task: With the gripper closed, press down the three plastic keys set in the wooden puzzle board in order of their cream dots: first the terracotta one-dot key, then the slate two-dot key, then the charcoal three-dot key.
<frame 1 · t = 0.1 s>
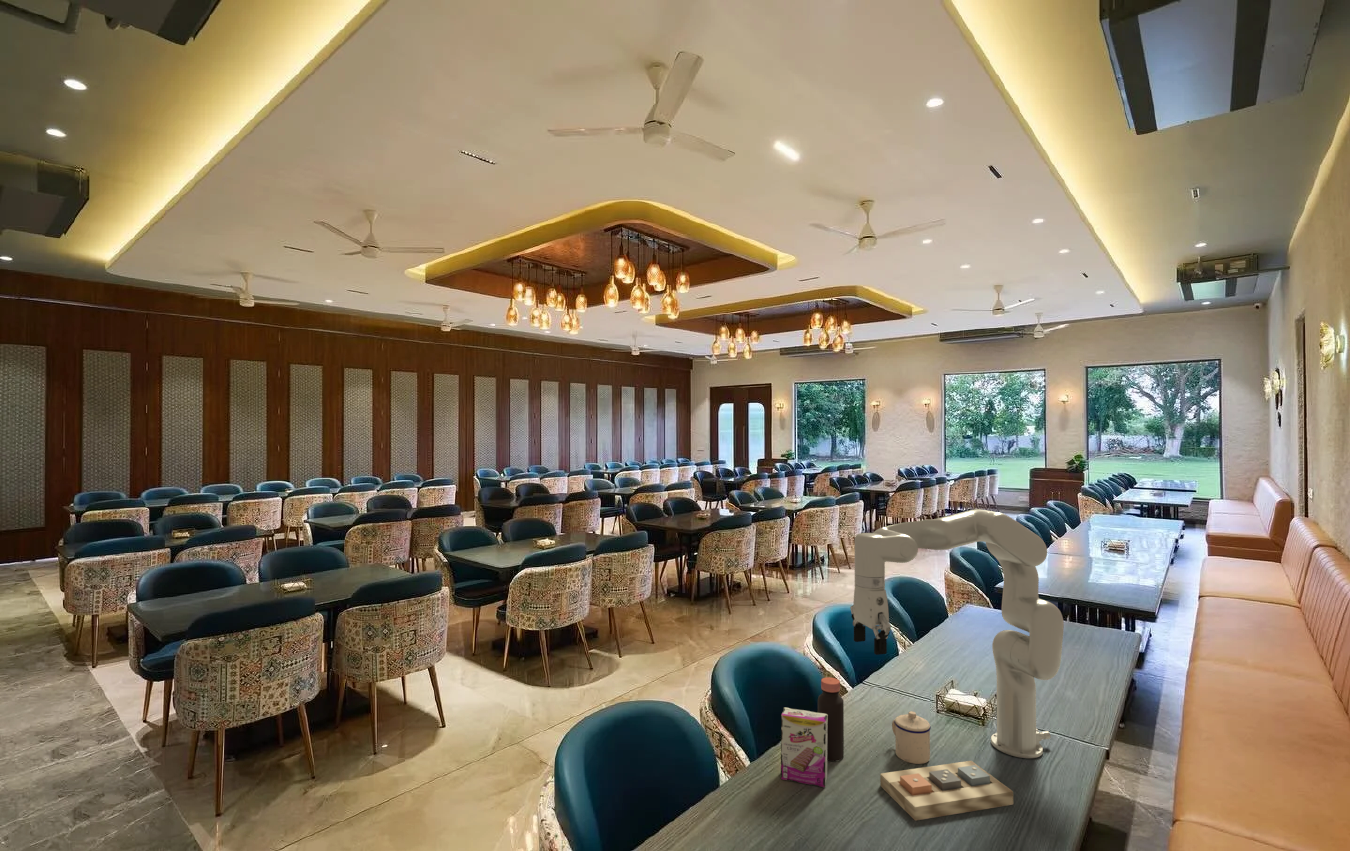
hand: (869, 647, 160), 31 cm above the table, tool pointing down, fingers open, 9 cm apart
bottle: (830, 755, 166), on the table
teacup with lid: (908, 754, 167), on the table
key one: (915, 786, 146), point 3 cm above the table, slide at 0.0 cm
key three: (945, 781, 147), point 3 cm above the table, slide at 0.0 cm
wooden puzzle board: (945, 794, 147), on the table
candy bar box: (804, 780, 154), on the table
key two: (973, 777, 149), point 3 cm above the table, slide at 0.0 cm
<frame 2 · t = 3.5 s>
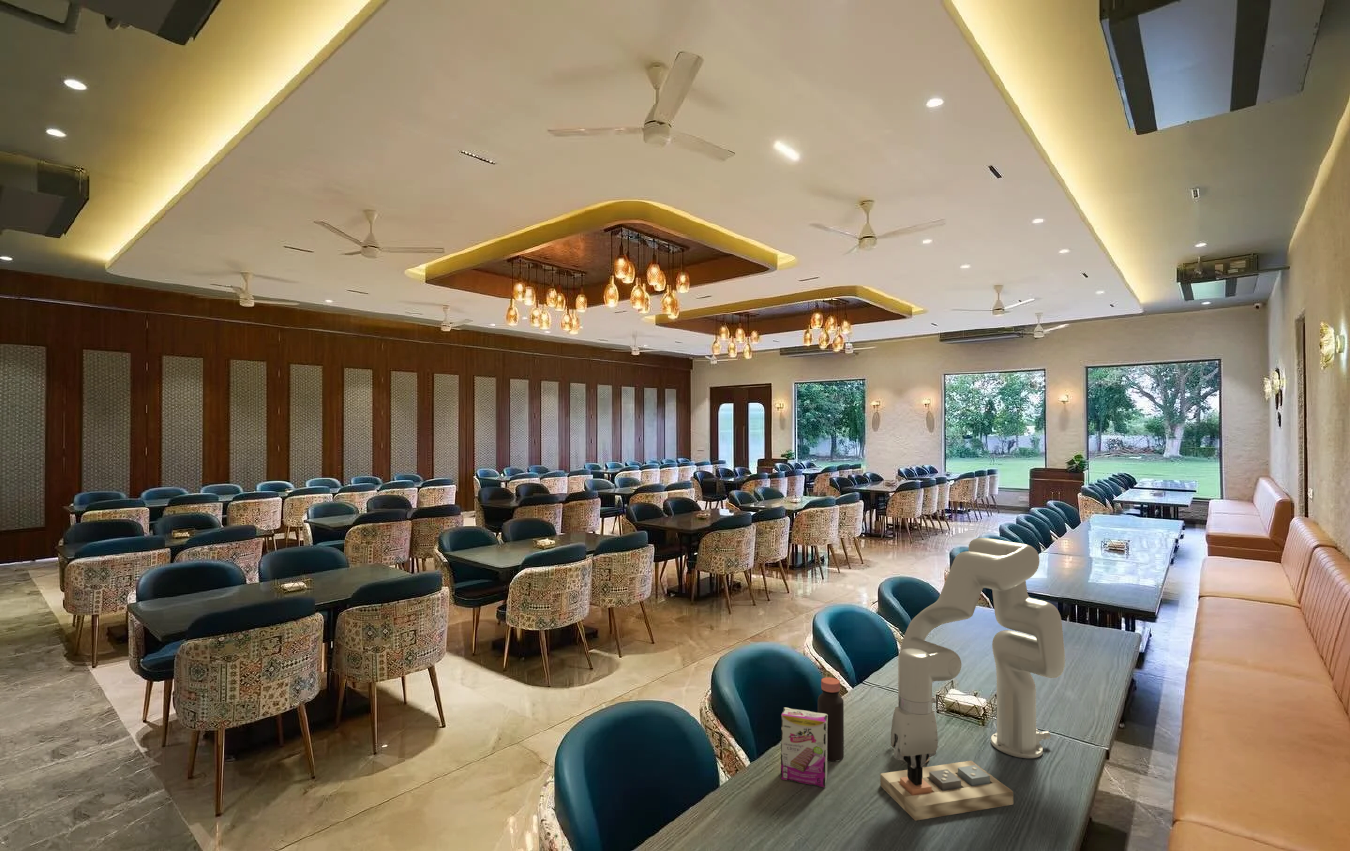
hand: (914, 781, 145), 4 cm above the table, tool pointing down, fingers closed
key one: (915, 788, 146), point 3 cm above the table, slide at 0.4 cm, touching gripper
everything else where it was.
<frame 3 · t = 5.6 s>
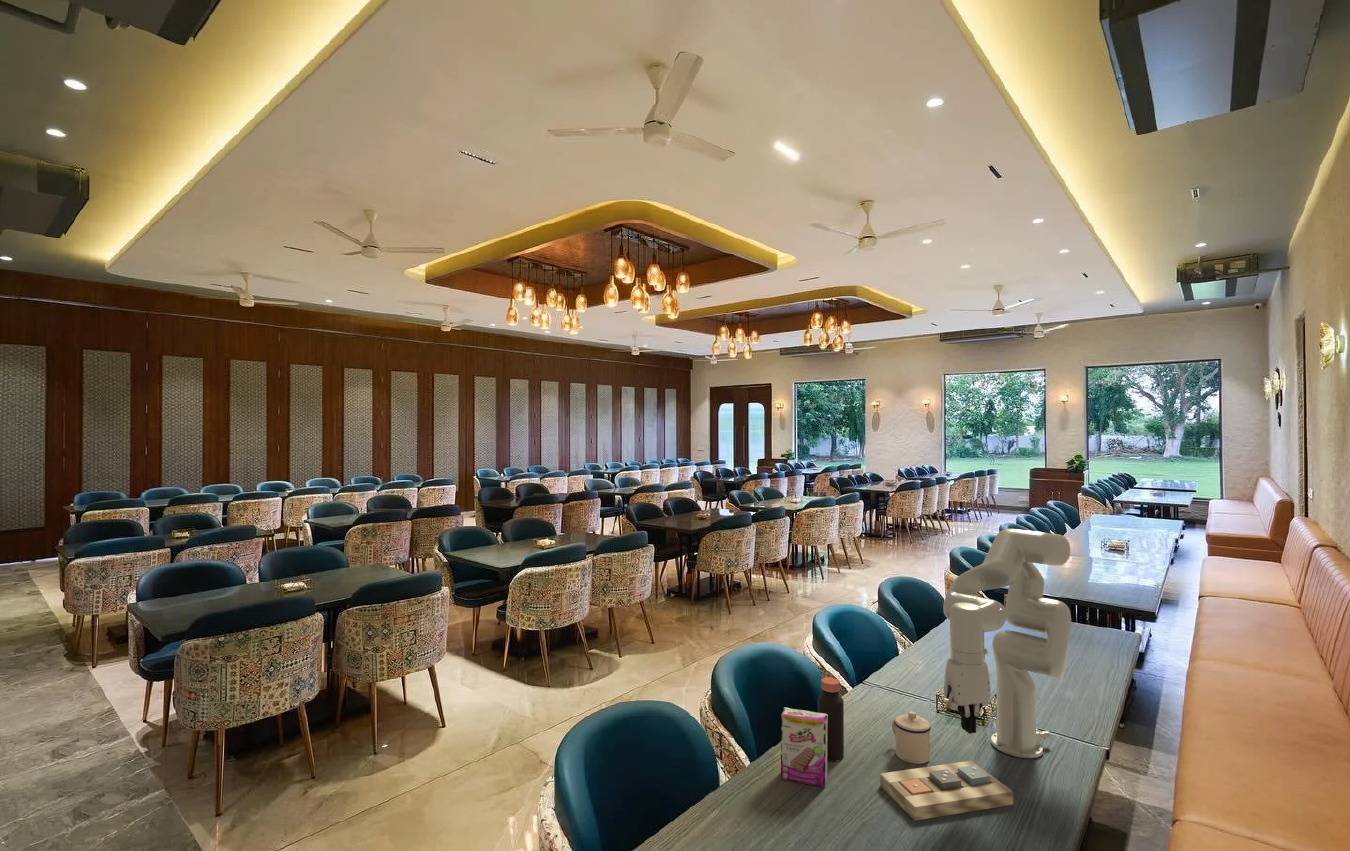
hand: (968, 730, 149), 14 cm above the table, tool pointing down, fingers closed
key one: (915, 791, 146), point 2 cm above the table, slide at 1.3 cm
everything else where it was.
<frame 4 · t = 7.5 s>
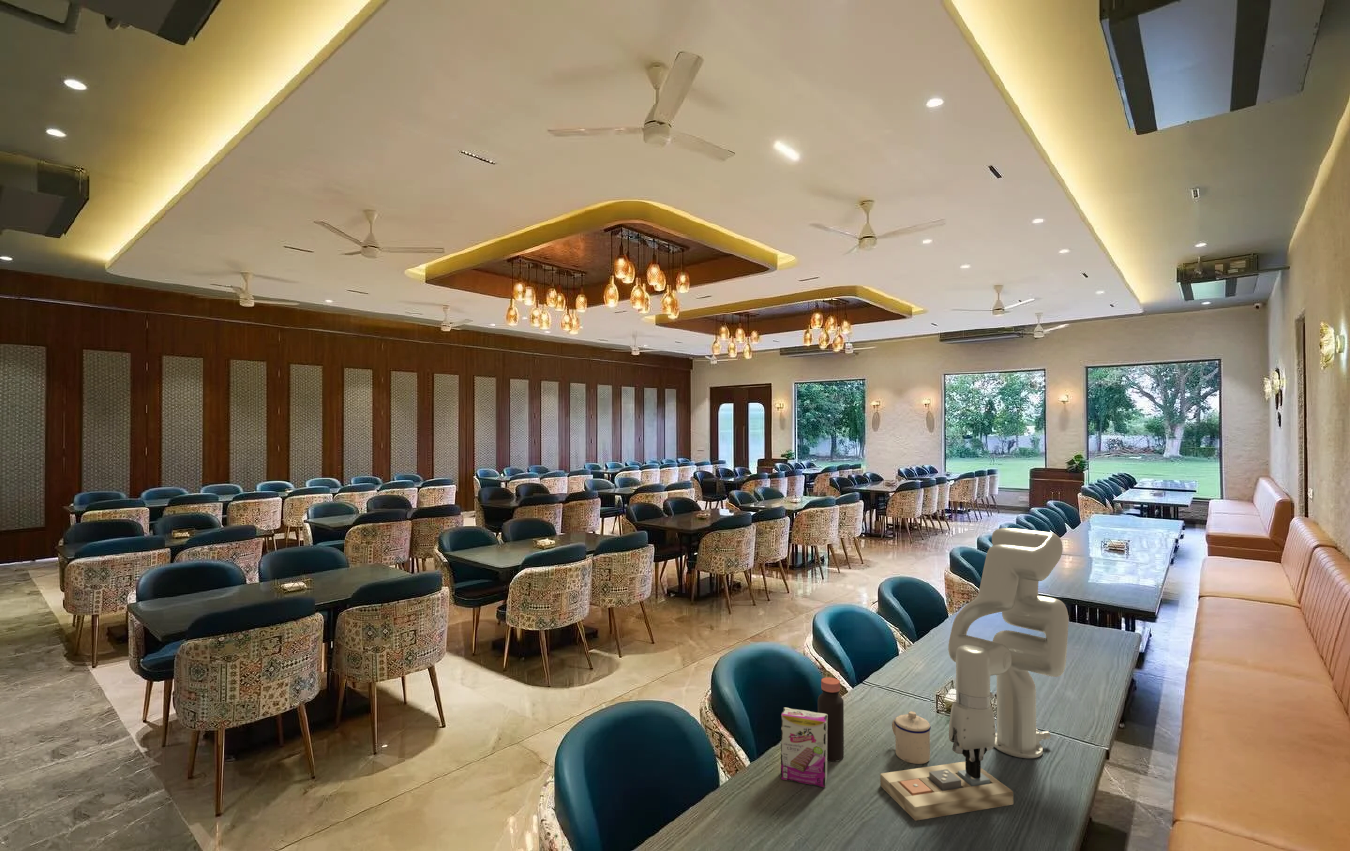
hand: (973, 774, 149), 4 cm above the table, tool pointing down, fingers closed
key two: (973, 780, 149), point 2 cm above the table, slide at 0.8 cm, touching gripper
everything else where it was.
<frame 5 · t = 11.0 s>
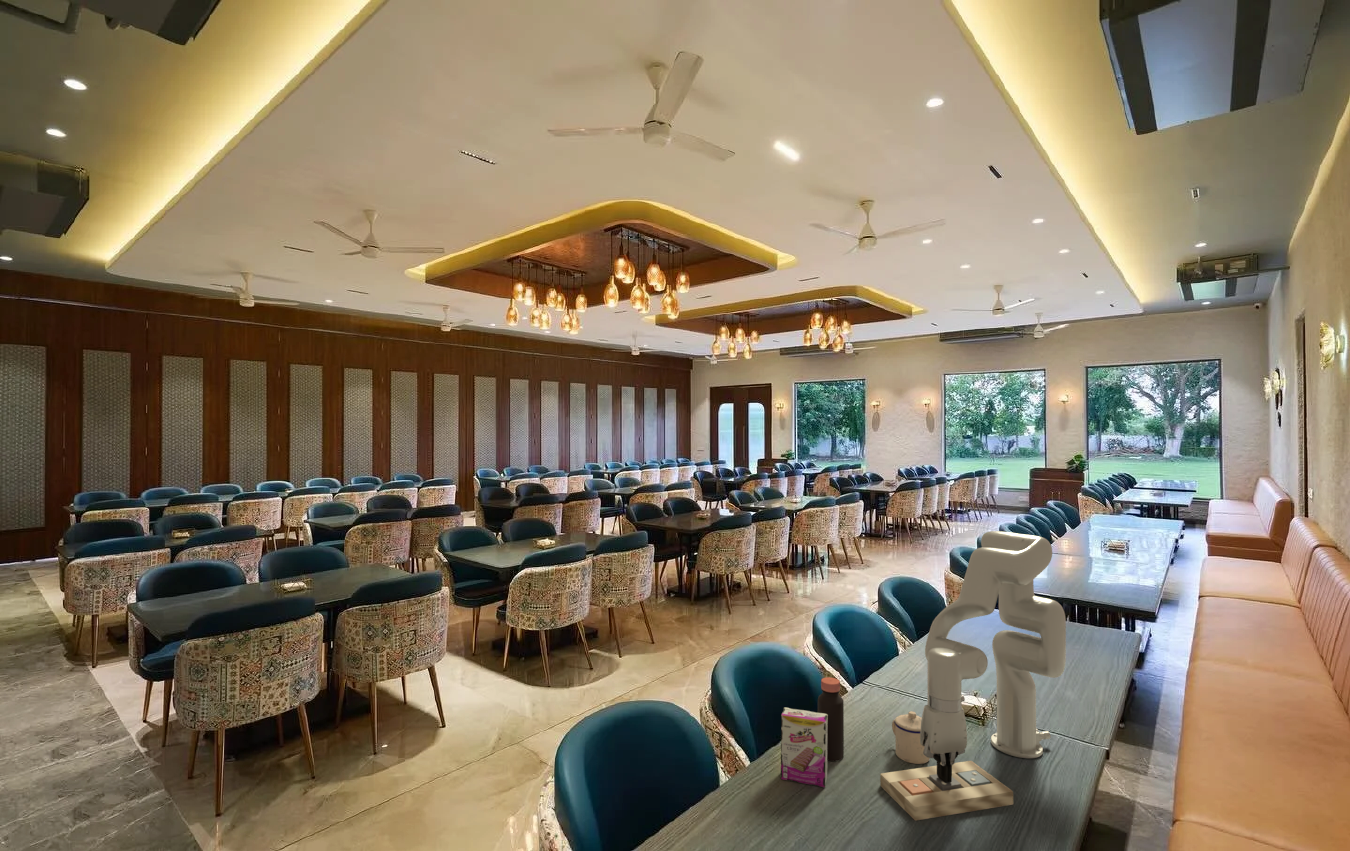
hand: (944, 779, 147), 4 cm above the table, tool pointing down, fingers closed
key three: (945, 785, 147), point 2 cm above the table, slide at 0.8 cm, touching gripper
key two: (973, 782, 149), point 2 cm above the table, slide at 1.3 cm
everything else where it was.
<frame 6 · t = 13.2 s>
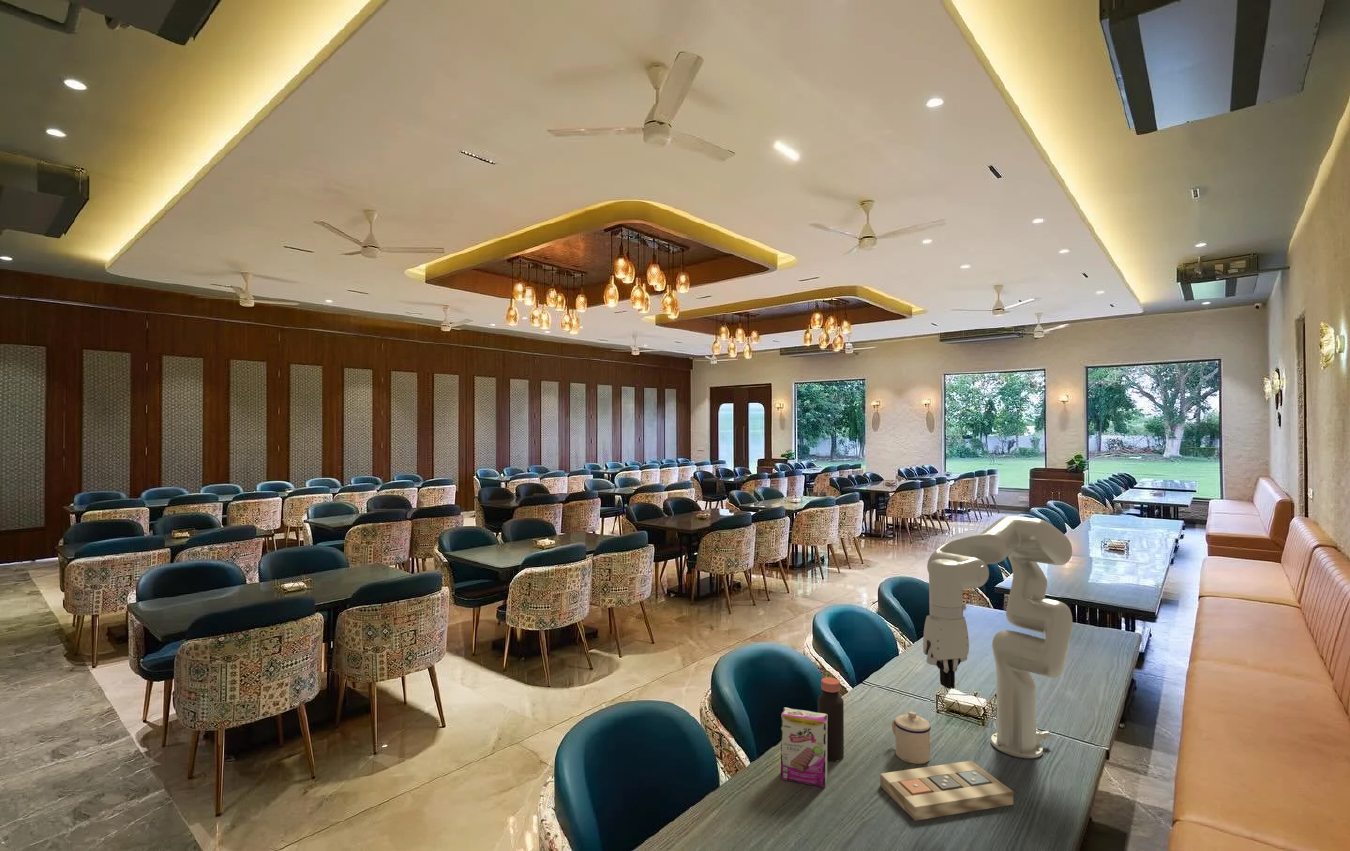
hand: (947, 686, 150), 25 cm above the table, tool pointing down, fingers closed
key three: (945, 787, 147), point 2 cm above the table, slide at 1.3 cm
everything else where it was.
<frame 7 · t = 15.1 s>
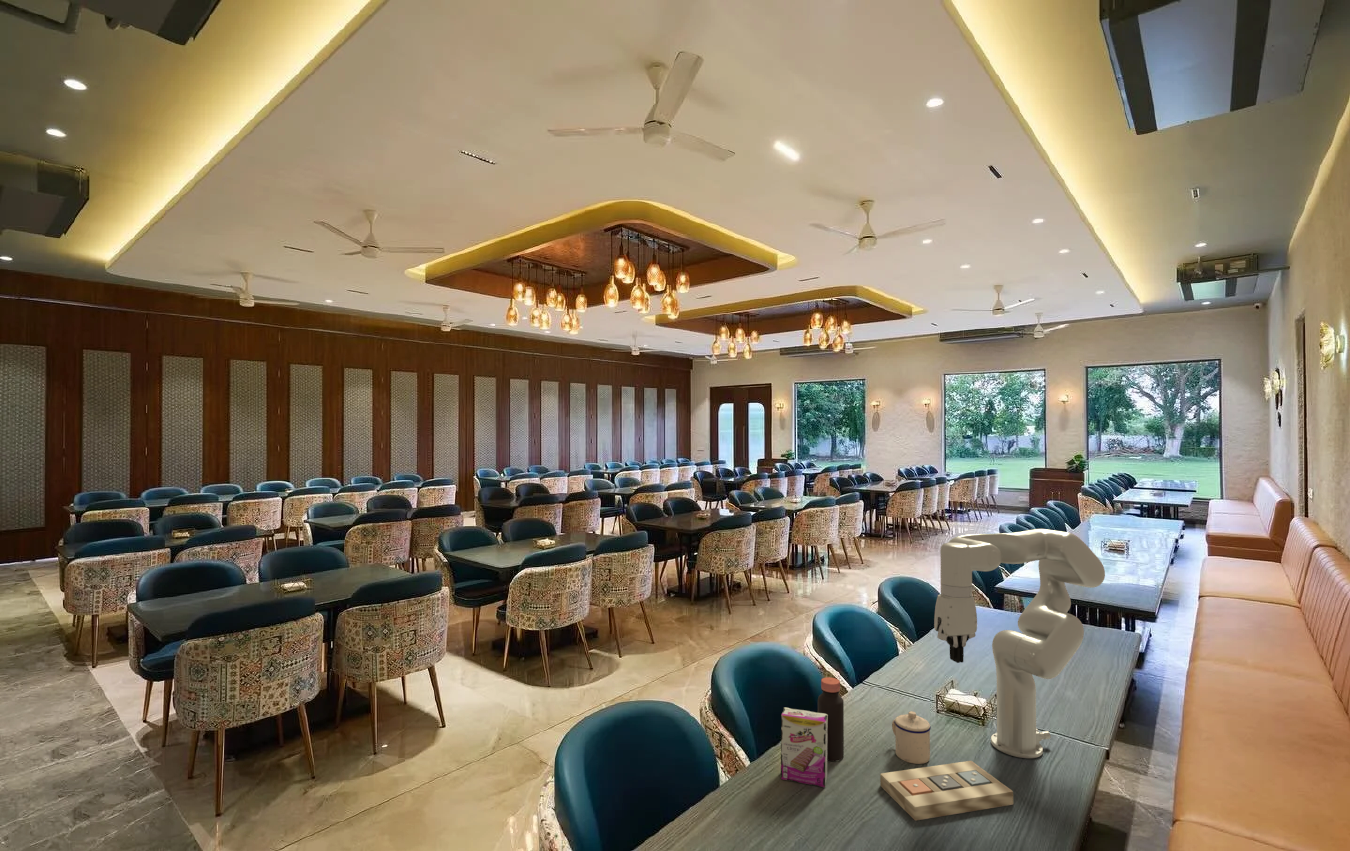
hand: (956, 660, 161), 27 cm above the table, tool pointing down, fingers closed
nothing on the table moved.
at the end: key one slide at 1.3 cm; key two slide at 1.3 cm; key three slide at 1.3 cm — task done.
